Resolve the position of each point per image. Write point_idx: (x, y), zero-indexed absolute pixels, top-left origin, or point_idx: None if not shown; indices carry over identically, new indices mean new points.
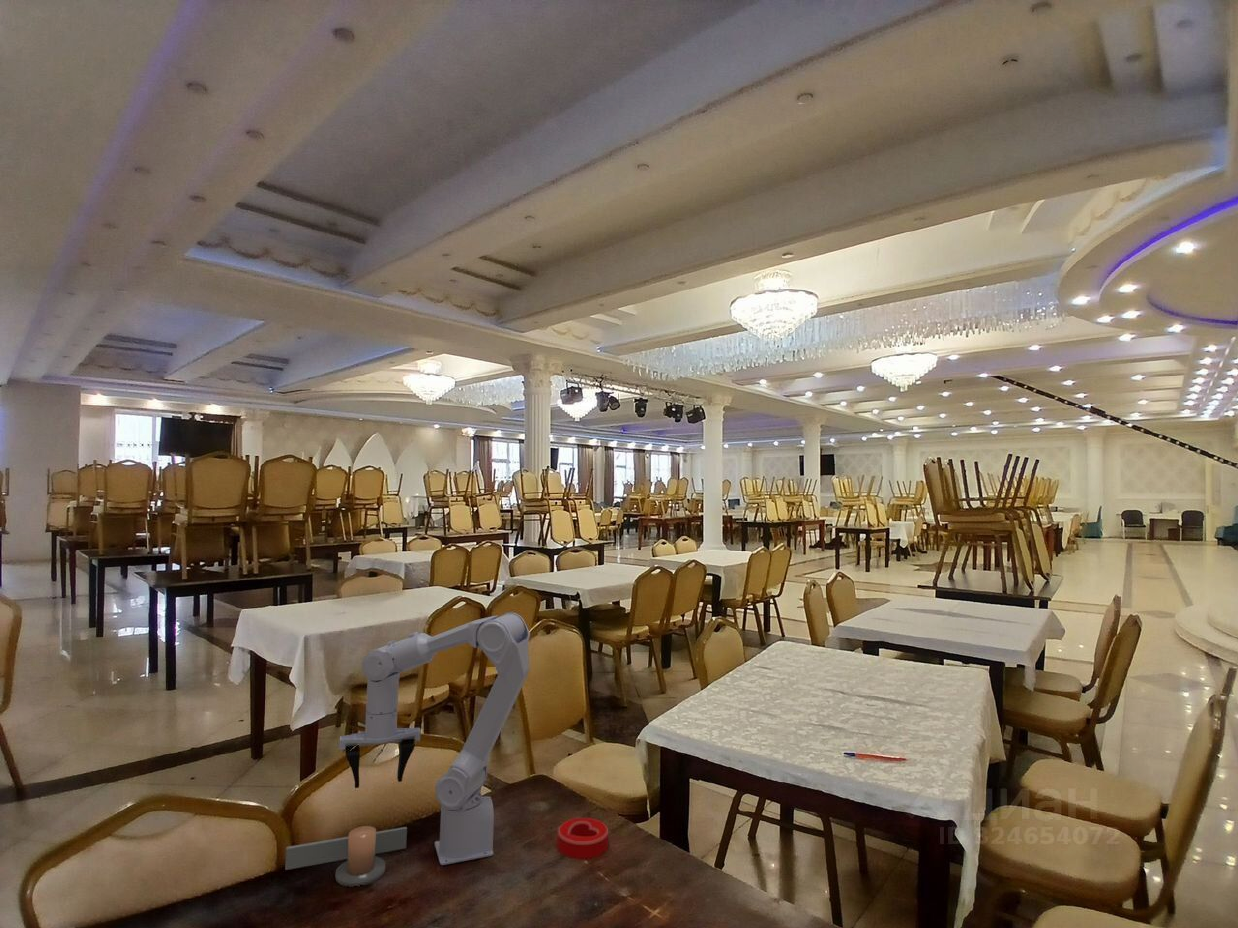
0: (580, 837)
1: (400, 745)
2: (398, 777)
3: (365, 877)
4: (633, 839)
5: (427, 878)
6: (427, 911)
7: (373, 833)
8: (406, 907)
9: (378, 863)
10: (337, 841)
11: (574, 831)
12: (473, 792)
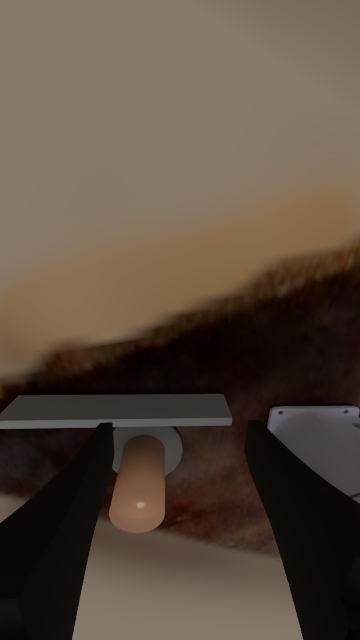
0: None
1: (327, 623)
2: (249, 466)
3: None
4: None
5: (235, 482)
6: (220, 536)
7: (158, 521)
8: (198, 525)
9: (172, 447)
10: (95, 426)
11: None
12: None
